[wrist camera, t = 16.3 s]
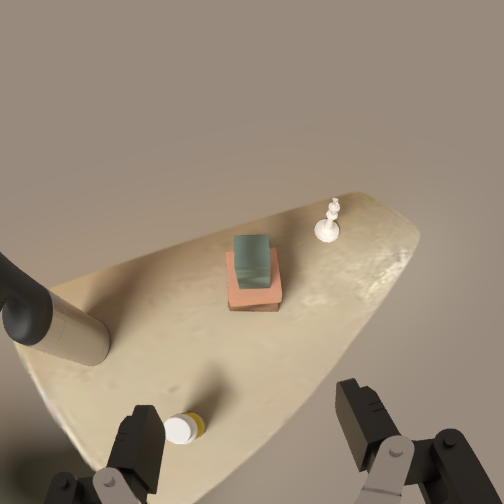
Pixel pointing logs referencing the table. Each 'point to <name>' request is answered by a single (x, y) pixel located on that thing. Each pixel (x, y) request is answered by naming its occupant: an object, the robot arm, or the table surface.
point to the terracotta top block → (254, 295)
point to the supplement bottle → (184, 427)
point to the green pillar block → (252, 261)
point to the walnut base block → (256, 307)
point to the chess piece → (329, 224)
